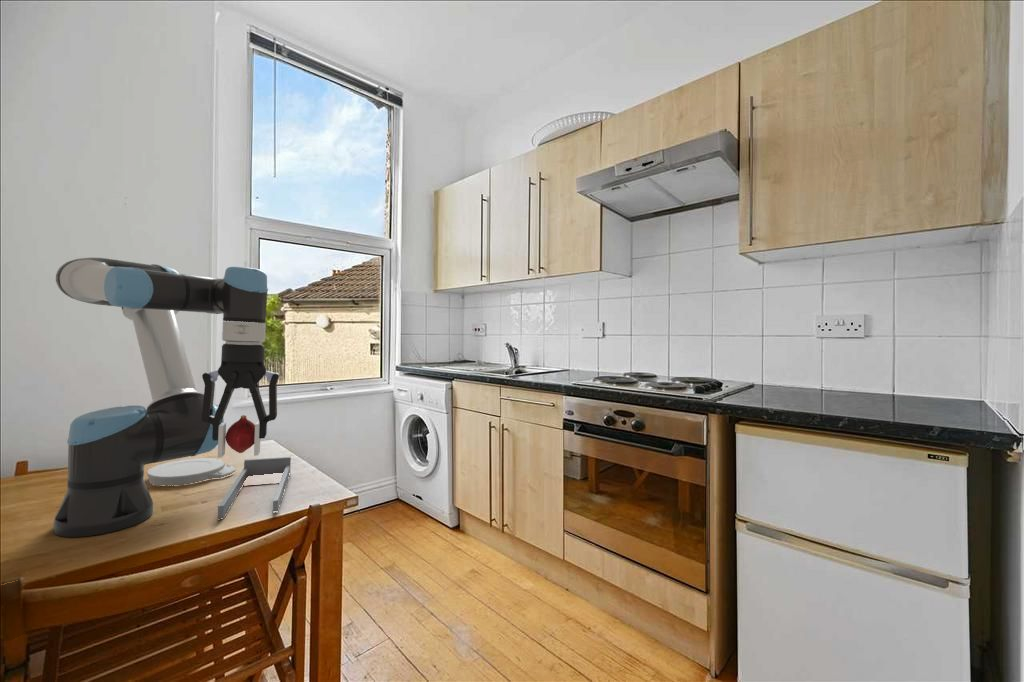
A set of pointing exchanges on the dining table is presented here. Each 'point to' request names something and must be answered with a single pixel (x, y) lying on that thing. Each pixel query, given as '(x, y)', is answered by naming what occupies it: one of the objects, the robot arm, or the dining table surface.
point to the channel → (258, 468)
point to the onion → (241, 435)
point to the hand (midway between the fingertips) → (239, 454)
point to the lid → (188, 471)
